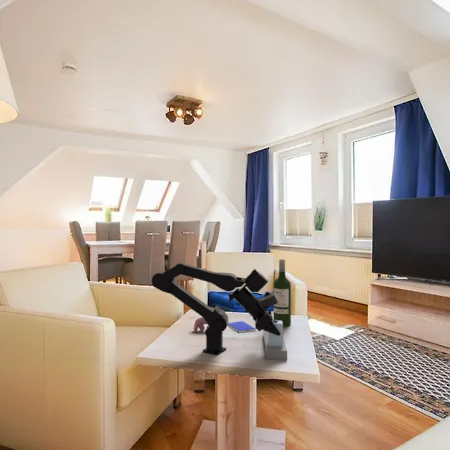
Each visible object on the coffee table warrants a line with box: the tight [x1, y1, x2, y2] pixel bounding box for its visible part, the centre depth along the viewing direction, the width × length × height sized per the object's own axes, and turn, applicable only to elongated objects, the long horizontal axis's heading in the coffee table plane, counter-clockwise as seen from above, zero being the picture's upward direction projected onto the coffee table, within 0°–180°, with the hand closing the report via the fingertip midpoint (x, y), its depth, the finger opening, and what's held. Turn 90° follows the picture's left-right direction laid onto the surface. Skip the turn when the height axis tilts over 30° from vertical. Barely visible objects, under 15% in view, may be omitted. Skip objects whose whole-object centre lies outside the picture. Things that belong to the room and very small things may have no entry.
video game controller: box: [193, 316, 208, 333], centre depth 145 cm, size 10×5×7 cm, turn 85°
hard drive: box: [227, 320, 257, 334], centre depth 150 cm, size 2×8×12 cm
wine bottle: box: [272, 258, 292, 328], centre depth 155 cm, size 8×8×30 cm
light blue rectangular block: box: [268, 319, 284, 347], centre depth 120 cm, size 4×5×11 cm
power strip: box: [263, 330, 288, 361], centre depth 129 cm, size 31×7×4 cm, turn 176°
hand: (279, 333), depth 120 cm, fingers closed on light blue rectangular block, 4 cm apart
